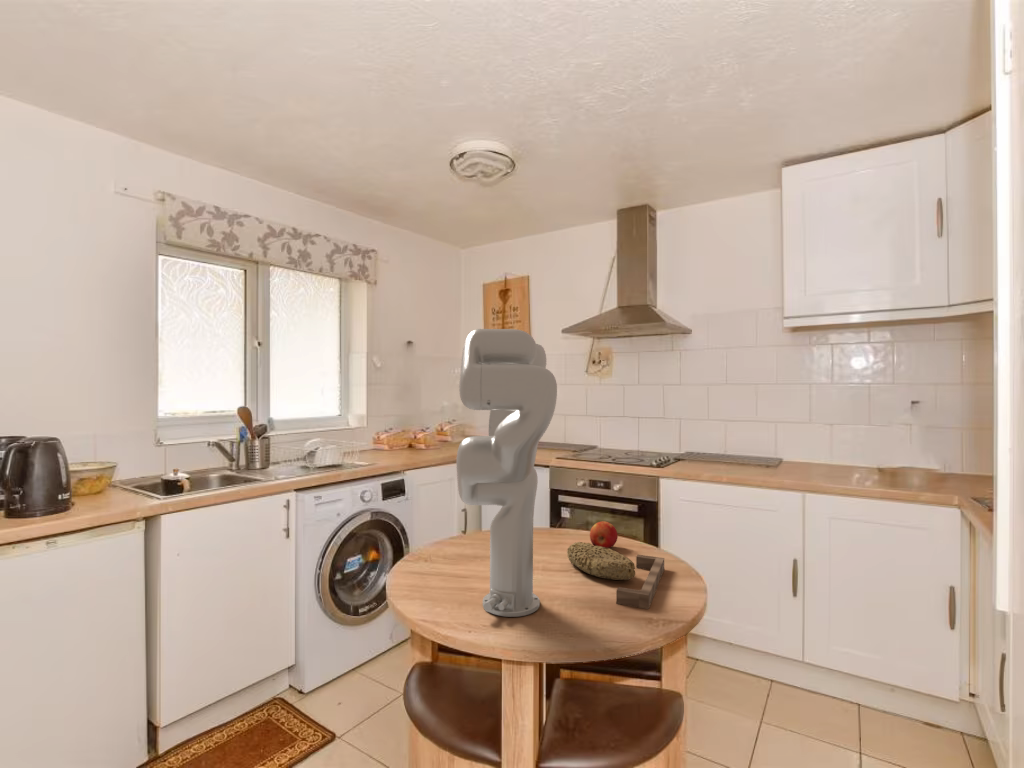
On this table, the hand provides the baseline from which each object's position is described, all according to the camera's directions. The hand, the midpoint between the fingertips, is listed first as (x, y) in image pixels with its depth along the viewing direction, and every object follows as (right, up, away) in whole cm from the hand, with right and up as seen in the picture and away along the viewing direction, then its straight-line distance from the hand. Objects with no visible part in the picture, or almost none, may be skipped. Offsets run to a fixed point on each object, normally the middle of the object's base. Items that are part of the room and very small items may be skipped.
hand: (507, 466), depth 135 cm
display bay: (+33, -27, -11) cm, 44 cm away
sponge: (+24, -28, -3) cm, 37 cm away
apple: (+29, -28, +18) cm, 43 cm away
